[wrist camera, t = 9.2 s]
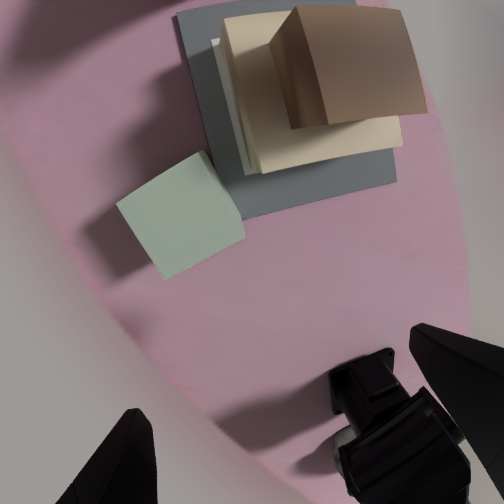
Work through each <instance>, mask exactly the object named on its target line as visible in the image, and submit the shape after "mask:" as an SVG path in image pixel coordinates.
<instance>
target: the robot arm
mask: <svg viewBox="0 0 504 504" xmlns="http://www.w3.org/2000/svg"><path fill="white" fill-rule="evenodd" d="M409 349H410V352H411V354H412V355H413V357H414V359H415V361H416V362H417V364H418V366H419V368H420V370H421V371H422V373H423V375H424V377H425V379H426V380H427V382H428V384H429V385H430V387H431V388H432V390H433V391H434V393H435V394H436V395H437V397H438V398H439V400H440V401H441V403H442V404H443V405H444V407H445V408H446V410H447V411H448V413H449V414H450V416H451V417H452V418H451V417H450V416H449V414H448V413H447V412H446V411H445V410H444V408H443V407H442V406H441V405H440V404H439V403H438V402H437V400H436V399H435V398H434V397H433V396H432V395H431V394H430V392H429V391H428V390H427V389H426V388H425V387H424V386H423V387H421V388H420V389H419V391H418V392H417V393H416V394H415V395H413V396H412V397H411V396H410V395H409V394H408V392H407V391H406V390H405V388H404V387H403V386H402V385H401V383H400V382H399V381H398V379H397V378H396V377H395V375H394V374H393V367H394V355H395V351H394V350H393V349H392V348H387V349H385V350H382V351H380V352H378V353H375V354H373V355H371V356H368V357H366V358H363V359H361V360H358V361H355V362H353V363H350V364H348V365H345V366H342V367H340V368H337V369H334V370H332V371H331V372H330V373H329V383H330V393H331V403H332V411H333V413H334V415H339V414H341V413H344V414H345V416H346V418H347V420H348V422H349V423H350V425H351V427H352V429H353V431H354V433H355V435H356V438H355V439H353V440H352V441H350V442H349V443H347V444H345V445H342V446H340V447H339V448H338V451H339V455H340V456H339V458H340V462H341V466H342V470H343V475H344V479H345V483H346V487H347V492H348V494H349V495H350V496H352V497H355V499H356V500H357V501H358V502H359V503H360V504H471V503H470V501H469V500H468V495H469V484H470V482H471V470H470V462H469V460H468V459H467V457H466V456H465V454H464V453H463V452H462V450H461V449H460V447H459V446H458V444H460V443H461V442H462V441H463V440H464V439H465V438H466V439H467V441H468V443H469V444H470V446H471V447H472V449H473V450H474V452H475V453H476V455H477V456H478V458H479V460H480V461H481V463H482V465H483V466H484V468H485V469H486V471H487V473H488V475H489V476H490V478H491V480H492V481H493V483H494V484H495V486H496V488H497V490H498V491H499V493H500V495H501V497H502V498H503V500H504V348H502V347H499V346H496V345H492V344H489V343H486V342H483V341H479V340H476V339H473V338H469V337H466V336H463V335H460V334H457V333H453V332H450V331H447V330H444V329H441V328H437V327H434V326H431V325H428V324H425V323H419V324H417V325H415V326H413V327H412V328H411V330H410V340H409ZM335 374H336V375H335ZM452 419H453V420H454V421H455V422H454V421H453V420H452ZM455 423H456V424H457V425H456V424H455ZM458 427H459V428H458ZM460 430H461V431H460ZM462 433H463V434H462ZM464 436H465V437H464ZM55 504H158V500H157V466H156V457H155V448H154V439H153V429H152V426H151V423H150V422H149V420H148V419H147V418H146V417H145V415H144V414H143V412H142V411H141V410H140V409H139V408H134V409H128V410H126V411H125V413H124V414H123V415H122V417H121V418H120V419H119V421H118V422H117V423H116V425H115V426H114V427H113V429H112V430H111V431H110V433H109V434H108V435H107V437H106V438H105V439H104V441H103V442H102V443H101V445H100V446H99V447H98V448H97V450H96V451H95V453H94V454H93V455H92V456H91V458H90V459H89V460H88V462H87V463H86V464H85V466H84V467H83V468H82V470H81V471H80V472H79V474H78V475H77V476H76V478H75V479H74V480H73V483H71V484H70V486H69V487H68V488H67V490H66V491H65V492H64V493H63V495H62V496H61V497H60V498H59V500H58V501H57V502H56V503H55Z"/></svg>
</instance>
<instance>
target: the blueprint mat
mask: <svg viewBox="0 0 504 504" xmlns="http://www.w3.org/2000/svg"><path fill="white" fill-rule="evenodd" d="M296 5H352V6H357V5H356V2H355V0H239V1H232V2H226V3H220V4H214V5H209V6H204V7H199V8H194V9H190V10H185V11H181V12H177V13H176V14H177V18H178V22H179V26H180V30H181V35H182V39H183V43H184V47H185V51H186V55H187V59H188V63H189V67H190V72H191V76H192V80H193V84H194V88H195V92H196V96H197V100H198V104H199V108H200V112H201V115H202V119H203V123H204V127H205V131H206V135H207V139H208V143H209V147H210V151H211V154H212V158H213V162H214V166H215V170H216V172H217V174H218V175H219V177H220V179H221V181H222V183H223V184H224V186H225V188H226V190H227V191H228V193H229V195H230V197H231V198H232V200H233V202H234V204H235V206H236V207H237V209H238V211H239V213H240V214H241V219H242V220H245V219H248V218H252V217H256V216H259V215H263V214H267V213H271V212H275V211H278V210H282V209H286V208H290V207H294V206H298V205H302V204H306V203H310V202H314V201H318V200H322V199H326V198H330V197H334V196H338V195H342V194H346V193H350V192H355V191H359V190H363V189H367V188H372V187H376V186H380V185H385V184H389V183H393V182H397V178H396V169H395V162H394V155H393V148H387V149H381V150H375V151H369V152H363V153H358V154H352V155H347V156H342V157H337V158H332V159H327V160H322V161H317V162H312V163H308V164H303V165H298V166H294V167H290V168H285V169H281V170H277V171H272V172H268V173H264V174H263V173H260V172H258V171H256V170H254V169H252V168H250V165H249V161H248V156H247V152H246V148H245V144H244V140H243V136H242V132H241V128H240V124H239V120H238V116H237V112H236V108H235V104H234V100H233V96H232V92H231V88H230V84H229V80H228V76H227V72H226V69H225V65H224V61H223V57H222V53H221V49H220V46H219V41H220V36H221V30H222V25H223V20H224V19H225V18H231V17H237V16H244V15H251V14H259V13H268V12H280V11H292V10H293V9H294V7H295V6H296Z"/></svg>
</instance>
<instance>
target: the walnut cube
mask: <svg viewBox="0 0 504 504" xmlns="http://www.w3.org/2000/svg"><path fill="white" fill-rule="evenodd" d="M269 46H270V49H271V53H272V56H273V60H274V63H275V67H276V71H277V75H278V78H279V82H280V86H281V90H282V94H283V98H284V102H285V106H286V110H287V114H288V118H289V122H290V126H291V130H293V129H299V128H306V127H313V126H321V125H329V124H335V123H341V122H348V121H355V120H363V119H371V118H379V117H388V116H398V115H409V114H422V113H428V111H427V105H426V100H425V95H424V91H423V86H422V82H421V78H420V74H419V70H418V66H417V62H416V58H415V55H414V51H413V48H412V44H411V41H410V38H409V34H408V31H407V28H406V25H405V22H404V20H403V17H402V14H401V11H400V10H396V9H388V8H379V7H368V6H352V5H296V6H295V7H294V9H293V10H292V11H291V13H290V14H289V15H288V17H287V18H286V19H285V21H284V22H283V24H282V25H281V26H280V28H279V29H278V30H277V32H276V33H275V35H274V36H273V38H272V39H271V40H270V42H269Z"/></svg>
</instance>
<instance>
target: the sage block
mask: <svg viewBox="0 0 504 504" xmlns="http://www.w3.org/2000/svg"><path fill="white" fill-rule="evenodd" d="M116 205H117V207H118V208H119V210H120V212H121V213H122V215H123V216H124V218H125V220H126V221H127V223H128V224H129V226H130V228H131V229H132V231H133V232H134V234H135V235H136V237H137V238H138V240H139V242H140V243H141V245H142V246H143V248H144V249H145V251H146V252H147V254H148V255H149V257H150V258H151V260H152V261H153V263H154V264H155V266H156V267H157V268H158V270H159V271H160V273H161V274H162V276H163V277H164V279H165V280H168V279H170V278H171V277H173V276H175V275H177V274H179V273H181V272H182V271H184V270H186V269H188V268H190V267H192V266H193V265H195V264H197V263H199V262H201V261H203V260H204V259H206V258H208V257H210V256H212V255H214V254H216V253H217V252H219V251H221V250H223V249H225V248H227V247H229V246H230V245H232V244H234V243H236V242H238V241H240V240H242V239H244V238H245V237H246V236H245V232H244V227H243V223H242V219H241V214H240V213H239V211H238V209H237V207H236V206H235V204H234V202H233V200H232V198H231V197H230V195H229V193H228V191H227V190H226V188H225V186H224V184H223V183H222V181H221V179H220V177H219V175H218V174H217V172H216V170H215V168H214V167H213V165H212V163H211V161H210V160H209V158H208V156H207V154H206V153H205V151H204V150H202V151H199V152H197V153H195V154H193V155H192V156H190V157H188V158H187V159H185V160H183V161H181V162H180V163H178V164H176V165H175V166H173V167H171V168H170V169H168V170H167V171H165V172H163V173H162V174H160V175H158V176H157V177H155V178H154V179H152V180H151V181H149V182H147V183H146V184H144V185H143V186H141V187H140V188H138V189H137V190H135V191H134V192H132V193H131V194H129V195H128V196H126V197H125V198H123V199H122V200H120V201H119V202H117V203H116Z"/></svg>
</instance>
